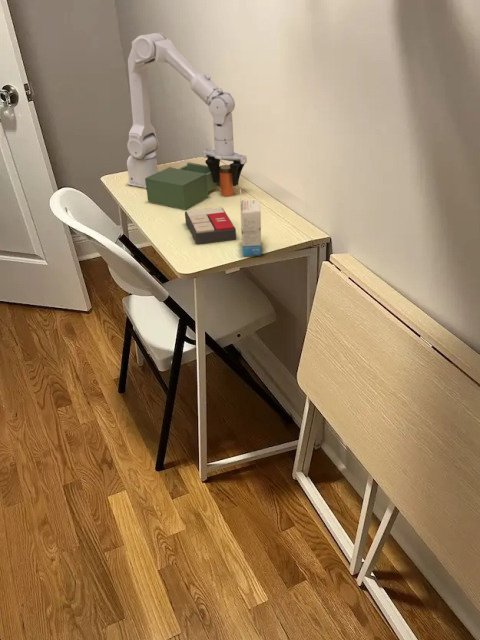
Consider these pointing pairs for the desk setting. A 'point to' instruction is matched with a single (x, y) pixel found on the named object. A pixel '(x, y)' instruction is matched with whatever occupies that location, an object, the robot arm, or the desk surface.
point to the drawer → (204, 170)
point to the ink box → (250, 227)
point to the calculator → (210, 225)
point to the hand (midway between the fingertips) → (226, 183)
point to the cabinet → (177, 188)
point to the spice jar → (226, 180)
